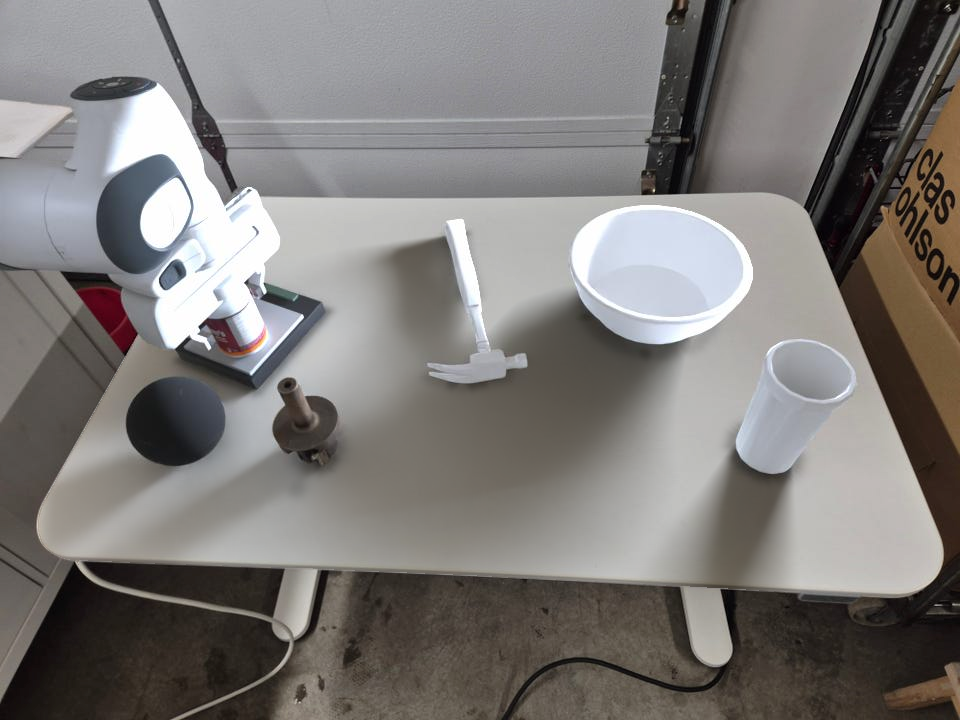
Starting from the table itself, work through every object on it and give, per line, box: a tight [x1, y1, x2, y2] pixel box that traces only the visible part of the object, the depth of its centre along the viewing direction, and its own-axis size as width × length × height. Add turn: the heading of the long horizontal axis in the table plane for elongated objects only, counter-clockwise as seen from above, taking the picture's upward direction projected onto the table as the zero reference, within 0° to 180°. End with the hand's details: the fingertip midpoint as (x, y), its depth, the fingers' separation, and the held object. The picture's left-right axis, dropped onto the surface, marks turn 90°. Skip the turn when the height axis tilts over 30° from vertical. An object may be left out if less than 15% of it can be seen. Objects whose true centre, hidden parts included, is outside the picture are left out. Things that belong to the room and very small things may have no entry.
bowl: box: [568, 205, 753, 345], centre depth 80 cm, size 22×22×8 cm
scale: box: [174, 278, 326, 391], centre depth 82 cm, size 15×13×3 cm
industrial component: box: [271, 376, 342, 466], centre depth 66 cm, size 9×7×12 cm
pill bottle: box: [204, 271, 268, 358], centre depth 75 cm, size 6×6×11 cm
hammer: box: [427, 218, 528, 384], centre depth 84 cm, size 12×30×3 cm, turn 10°
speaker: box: [125, 375, 227, 467], centre depth 68 cm, size 10×10×10 cm
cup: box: [735, 338, 858, 475], centre depth 62 cm, size 8×8×14 cm
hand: (234, 319), depth 76 cm, fingers open, 8 cm apart
